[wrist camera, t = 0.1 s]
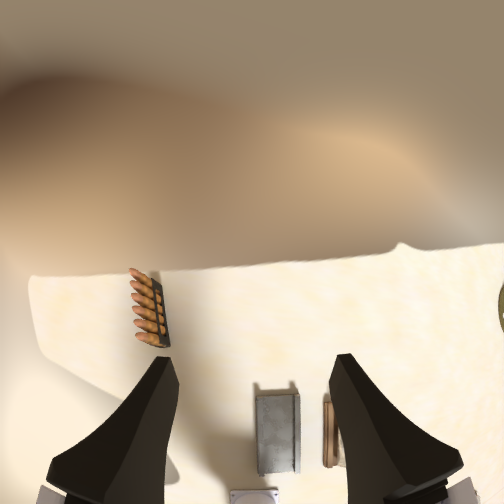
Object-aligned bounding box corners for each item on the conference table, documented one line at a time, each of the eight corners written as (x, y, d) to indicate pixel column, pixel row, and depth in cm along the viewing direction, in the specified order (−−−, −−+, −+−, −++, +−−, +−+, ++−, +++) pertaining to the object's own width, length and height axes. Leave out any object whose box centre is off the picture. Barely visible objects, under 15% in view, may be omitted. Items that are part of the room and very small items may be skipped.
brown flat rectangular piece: (362, 457, 34) (365, 460, 32) (323, 465, 34) (325, 468, 32) (363, 396, 38) (367, 397, 37) (324, 402, 38) (326, 404, 37)
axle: (356, 456, 33) (365, 463, 29) (334, 461, 33) (341, 469, 29) (357, 404, 37) (367, 407, 33) (334, 408, 37) (342, 412, 33)
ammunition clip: (152, 287, 45) (123, 263, 34) (161, 285, 46) (135, 261, 34) (160, 348, 41) (130, 343, 30) (170, 346, 42) (143, 341, 31)
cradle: (299, 468, 34) (301, 473, 32) (257, 471, 34) (258, 476, 31) (299, 393, 39) (301, 395, 37) (255, 396, 39) (256, 398, 37)
